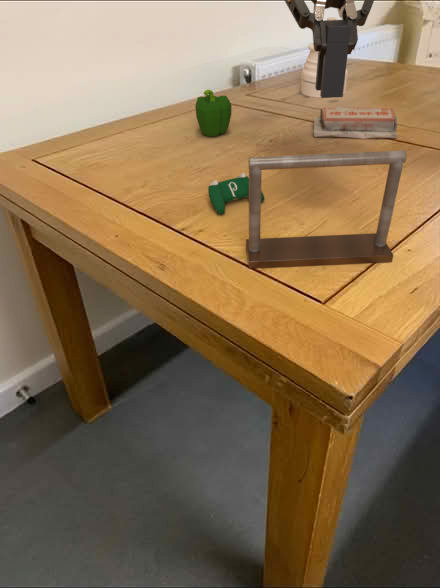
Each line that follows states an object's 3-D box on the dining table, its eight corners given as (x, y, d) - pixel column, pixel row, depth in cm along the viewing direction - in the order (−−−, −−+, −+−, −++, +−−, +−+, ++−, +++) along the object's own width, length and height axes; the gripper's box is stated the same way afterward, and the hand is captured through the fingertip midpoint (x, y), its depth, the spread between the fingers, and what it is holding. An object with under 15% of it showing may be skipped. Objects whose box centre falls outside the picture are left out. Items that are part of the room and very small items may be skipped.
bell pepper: (217, 124, 114) (215, 81, 108) (238, 133, 108) (237, 88, 102) (188, 132, 110) (185, 87, 104) (209, 142, 105) (206, 95, 98)
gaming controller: (258, 207, 83) (246, 176, 83) (267, 199, 79) (254, 167, 80) (213, 220, 80) (200, 188, 80) (219, 212, 76) (206, 179, 77)
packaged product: (395, 103, 106) (401, 117, 99) (391, 125, 109) (396, 140, 102) (315, 102, 109) (314, 115, 101) (313, 123, 112) (312, 138, 104)
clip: (315, 88, 71) (320, 20, 65) (334, 87, 71) (342, 19, 65) (321, 98, 67) (328, 26, 61) (342, 97, 67) (351, 25, 61)
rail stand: (379, 239, 70) (399, 142, 61) (392, 262, 65) (415, 159, 56) (245, 245, 70) (245, 149, 61) (248, 268, 65) (249, 167, 56)
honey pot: (308, 84, 141) (313, 15, 129) (350, 87, 136) (359, 16, 125) (294, 95, 132) (298, 22, 120) (339, 99, 127) (348, 23, 116)
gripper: (280, -85, 62) (288, 35, 60) (386, -90, 62) (398, 30, 60) (274, -38, 69) (281, 70, 67) (369, -43, 69) (379, 65, 67)
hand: (336, 50), depth 64 cm, fingers closed on clip, 3 cm apart
